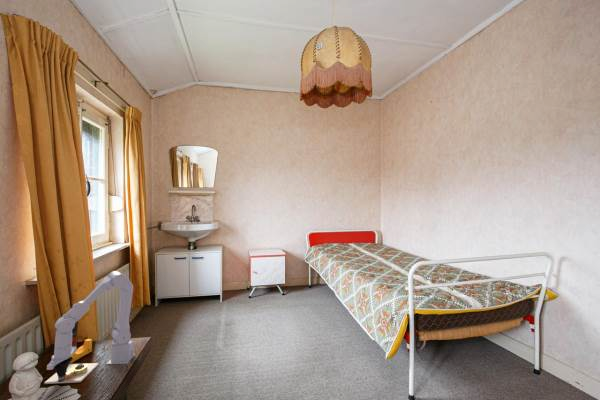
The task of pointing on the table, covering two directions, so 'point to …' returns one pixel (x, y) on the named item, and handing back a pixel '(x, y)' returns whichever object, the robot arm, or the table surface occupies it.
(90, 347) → the pipe clamp
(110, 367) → the table surface
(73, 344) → the deodorant
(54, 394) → the table surface
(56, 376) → the board
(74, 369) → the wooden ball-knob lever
